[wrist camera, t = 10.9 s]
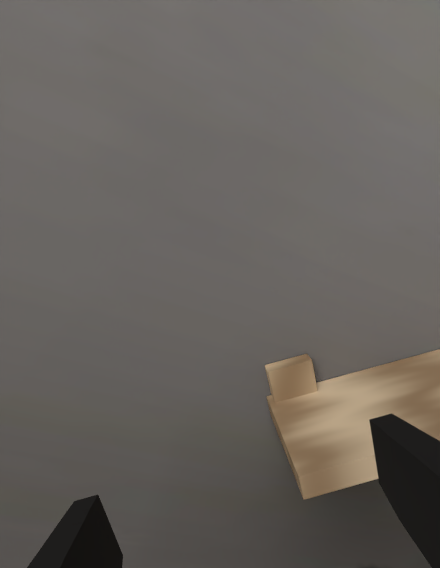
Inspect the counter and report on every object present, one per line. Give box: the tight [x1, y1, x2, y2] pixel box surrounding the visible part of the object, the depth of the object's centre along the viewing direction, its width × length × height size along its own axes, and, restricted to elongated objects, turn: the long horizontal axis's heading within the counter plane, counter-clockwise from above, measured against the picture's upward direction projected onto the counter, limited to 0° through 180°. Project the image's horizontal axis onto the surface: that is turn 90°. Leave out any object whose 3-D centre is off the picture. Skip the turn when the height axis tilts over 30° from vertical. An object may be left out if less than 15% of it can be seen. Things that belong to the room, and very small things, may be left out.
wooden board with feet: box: [265, 349, 440, 500], centre depth 18 cm, size 14×5×6 cm, turn 104°
